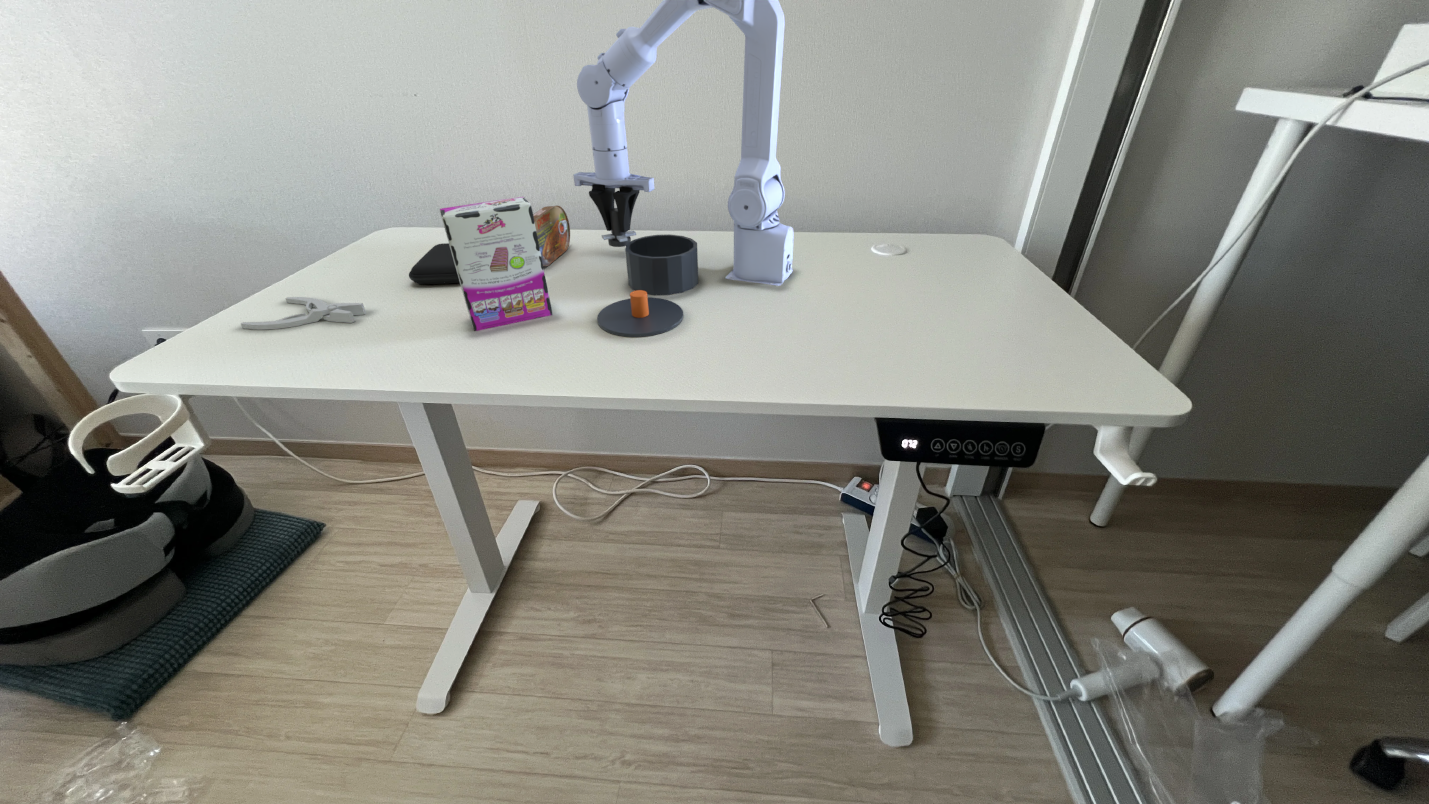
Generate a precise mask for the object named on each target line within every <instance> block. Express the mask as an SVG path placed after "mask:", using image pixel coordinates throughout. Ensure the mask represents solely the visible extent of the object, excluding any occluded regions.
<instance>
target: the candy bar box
mask: <svg viewBox="0 0 1429 804" xmlns="http://www.w3.org/2000/svg"><path fill="white" fill-rule="evenodd" d="M533 211H534V210H533V208H532V204H531V202H529V200H527V199H526V197H525V196H519V197H511V198H503V199H496V200H490V201H483V202H475V203H469V204H462V205H456V206H449V207H441V208H439V213H440V217H441V220H442V224H443V228H444V232H445V235H446V238H447V243H449V246H450V249H451V253H452V256H453V260H454V263H455V267H456V271H457V274H458V278H459V281H460V283H459V285H460V288H461V291H462V296H463V299H464V302H465V307H466V309H467V314H468V316H469V319H470V323H471V326H472V329H473V331H474V332H477V331H483V330H488V329H492V328H493V329H494V328H497V327H501V326H507V325H513V324H516V323H521V322H526V321H531V320H537V319H540V318H546V317H550V316H553V314H554V313H553V308H552V304H551V300H550V299H551V298H550V293H549V288H548V282H547V279H546V274H545V269H544V266H543V263H542V258H541V252H540V247H539V242H538V236H537V232H536V227H535V222H534V216H533V214H534V212H533Z"/></svg>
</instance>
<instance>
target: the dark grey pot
mask: <svg viewBox="0 0 1429 804" xmlns="http://www.w3.org/2000/svg"><path fill="white" fill-rule="evenodd" d="M624 252H625V261H626V272H627V283H628V286H629V287H630V289H632V291H636V290H643V291H646V292H647V296H648V295H649V296H673V295H677V294H683V293H685V292H688V291H690V290H692V289H694V288H695V287H696V286H698V285H699V257H698V254H699V253H698V252H699V251H698V242H697V241H696V240H694V239H693V238H691V237H688V236H684V235H678V234H653V235H645V236H641V237H638V238H635V239H631V242H629V243H628V244H627V245H626V246H625V248H624Z"/></svg>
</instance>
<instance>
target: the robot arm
mask: <svg viewBox="0 0 1429 804" xmlns="http://www.w3.org/2000/svg"><path fill="white" fill-rule="evenodd" d="M780 3H781V2H780V1H779V0H661V2H660V3H659V4H658V6H657V7H656V8H655V9H654V10H653V12H652V13H651V14H650V15H649V17H647V19H646V20H645V21H644V22H643V24H642V25H641V26H640V27H637V26H628V27H627V28H620V29H619V30H618V31H616V33H615V36H616V38H617V39H616V40H615V41H614V42H613V43H612V45H611V46H609V48H608V49H606V51H605V52H601V53H599V55H597V58H596V59H597V63H596V64H586V65H584V66H582V67H581V70H580V72H579V74H578V75H577V79H576V89H577V93H578V95H579V98H580V99H581V101H582V102H583V103H584V104H585V105H586V108H587V109H586V110H587V118H588V126H589V133H590V142H591V149H592V157H593V166H594V172H593V171H592V172H591V171H590V172H589V171H588V172H587V171H585V172H584V171H579V172H576V173H573V175H572V176H573V183H574V187H581V186H585V187H586V186H587V187H591V190H589V191H588V197H589V198H590V199H591V200H592V202H593V203H594V204H595V206H596V208H597V210H598V212H599V214H600V216H601V218H602V221H603V224H604V226H605V229H606V231H607V232H611V230H612V229H611V220H610V211H609V210H610V209H612V208H615V205H616V208H617V209H618V214H619V222H620V229H621V232H623V233H625V232H627V231H631V223H632V217H633V211H634V208H635V205H636V202H637V200H638V197H639V194H640V191H643V192H645V193H650V192H652V191H654V190H655V177H650V176H644V175H638V174H634V173H630V163H629V162H630V161H629V151H628V143H627V141H628V140H627V131H626V119H625V112H626V109H625V108H626V107H625V103H626V99H627V98H628V95H629V93H630V92H629V91H630V88H631V87H632V86H633V85H634V84H635V83H636V82H637V81H638V80H639V79H640V78H641V77H642V76H643V75H644V74H645V73H646V72H647V71H648V70H649V69H650V68H651V67H652V66H653V65H654V64H655V63H656V61H657V56H658V54H657V53H658V47H659V46H661V44H662V43H663V42H664V41H665V40H667V39H668V38H669V37H670V36H671V35H672V34H674V32H675V31H677V29H679V28H680V27H681V26H682V25H683V24H684V23H685V22H686V21H687V20H689V18H691V16H692V15H694V14H695V13H696V12H698V11H700V10H707V9H712V8H714V9H716V10H718V11H719V12H721V13H723V14H725V15H727V16H728V18H729V19H731V21H732V22H733V23H734V24H735V25H736V26H737V28H738V29H740V31H741V32H742V33H743V35H744V56H743V57H744V58H743V59H744V60H743V89H742V90H743V92H742V113H741V114H742V116H741V118H742V119H741V143H740V144H741V145H740V148H741V149H740V160H739V163H738V165H737V168H736V171H735V173H734V176H733V177H734V180H733V181H734V182H733V187H732V190H731V192H730V195H729V196H728V199H727V211H728V214H729V217H730V218H731V219H732V221H733V269H732V270H731V271H730V272H729V273H728V274H727V275H726V276H725V278H724V279H727V280H731V281H732V280H733V281H741V282H748V283H754V284H762V285H770V286H779V287H780V286H782V285H783V283H784V282H785V281H786V280H787V279H789V277H790V276H791V274H792V273H793V270H794V269H793V255H794V242H795V240H794V239H795V235H794V228H793V227H792V225H791V226H790V225H785V224H783V223H781V222H780V215H779V213H778V210H779V209H780V208H781V206H782V205H783V204H784V201H785V195H786V189H785V187H784V184H783V182H782V177H781V172H782V167H781V164H780V163H779V161H778V160H777V147H778V146H777V145H778V133H779V116H780V101H781V100H780V99H781V87H782V85H781V84H782V73H783V71H782V69H783V56H784V42H785V41H784V40H785V27H786V21H785V20H786V19H785V13H784V10H783V8H782V6H781V4H780ZM616 189H618V190H616Z"/></svg>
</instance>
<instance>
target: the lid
mask: <svg viewBox="0 0 1429 804" xmlns="http://www.w3.org/2000/svg"><path fill="white" fill-rule="evenodd" d="M596 318H597V324H598V326H599V327H600V328H601V329H602V330H603V331H604V332H607V333H609V334H610V335H611V334H612V335H615V336H619V337H627V338H641V337H643V338H644V337H651V336H656V335H660V334H664V333H666V332H669V331H671V330H673V329H675V328H676V327H678V326H679V325H680V324H681V323H682V321H683V319H684V310H683V308H682V307H681V306H680V305H679V304H678V303H676V302H674V301H672V300H669V299H665V298H661V297H648V294H647V292H646V291H643V290H636V291H634V290H632V291H631V292H630V293H629V298H625V299H622V300H618V301H614V302H612V303H610V304H608V305H606V306H604V307H603V308H602V309H601V310H600V311H599V312H598V314H597V317H596Z"/></svg>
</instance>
